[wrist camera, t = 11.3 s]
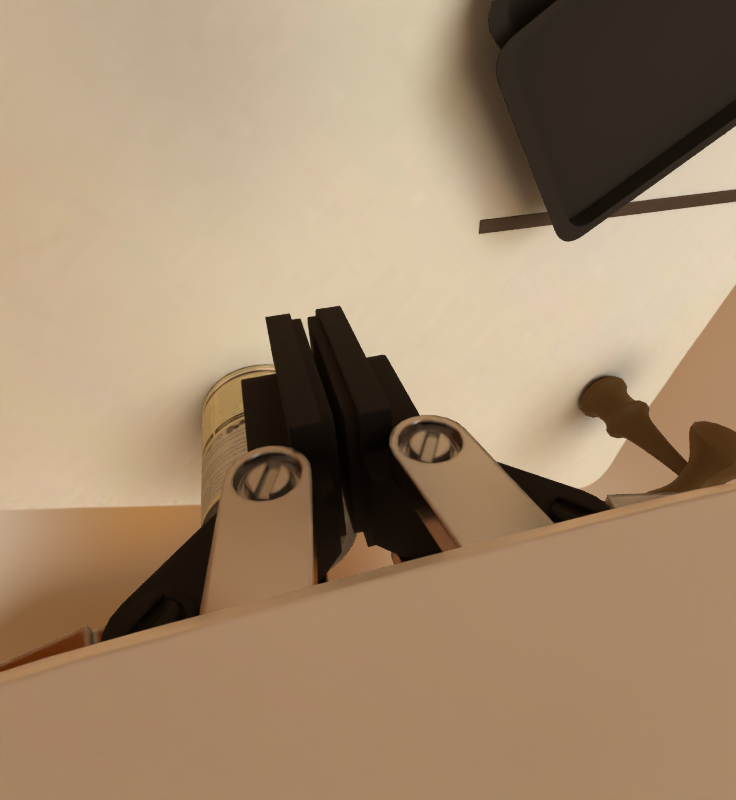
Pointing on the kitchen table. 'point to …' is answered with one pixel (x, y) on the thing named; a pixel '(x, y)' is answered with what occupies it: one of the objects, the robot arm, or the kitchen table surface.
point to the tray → (613, 94)
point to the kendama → (626, 418)
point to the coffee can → (233, 442)
